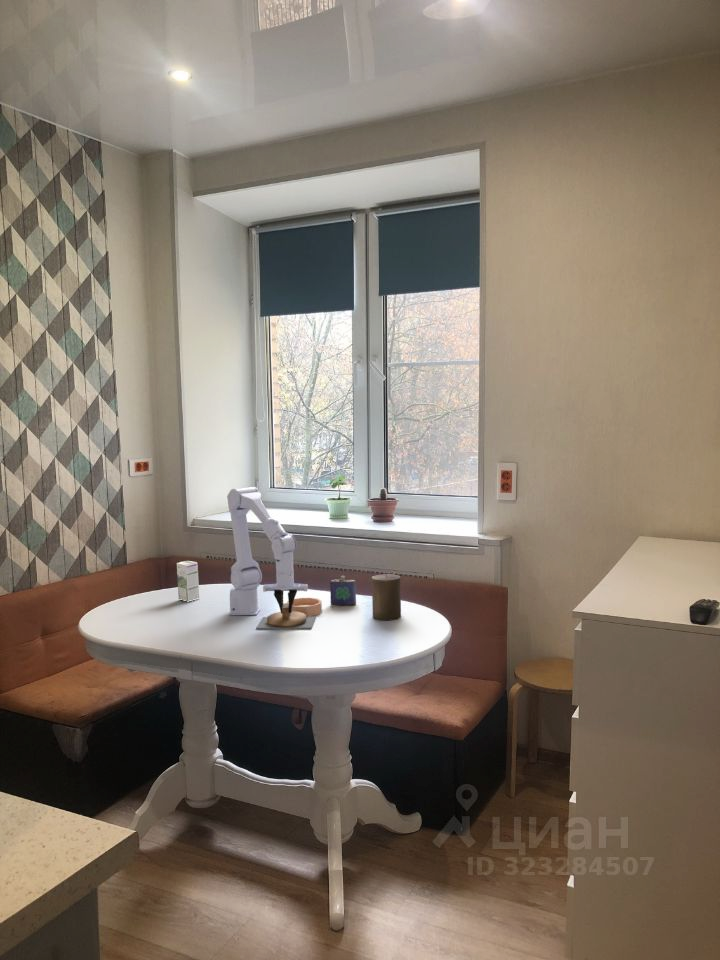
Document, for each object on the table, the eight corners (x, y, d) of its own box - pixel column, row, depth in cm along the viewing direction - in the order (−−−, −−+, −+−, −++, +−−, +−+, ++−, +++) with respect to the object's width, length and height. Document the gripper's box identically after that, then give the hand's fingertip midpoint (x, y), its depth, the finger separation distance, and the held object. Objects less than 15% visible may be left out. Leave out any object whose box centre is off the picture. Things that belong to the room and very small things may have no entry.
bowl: (284, 616, 249) (284, 606, 249) (289, 607, 261) (289, 597, 261) (319, 616, 249) (319, 606, 248) (323, 607, 260) (322, 597, 260)
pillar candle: (400, 620, 242) (399, 576, 240) (370, 620, 243) (370, 576, 242) (401, 613, 251) (401, 570, 250) (373, 612, 253) (373, 569, 251)
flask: (356, 603, 264) (355, 574, 263) (355, 605, 261) (355, 576, 260) (330, 604, 265) (330, 575, 264) (330, 606, 262) (329, 577, 261)
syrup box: (200, 599, 275) (198, 561, 274) (187, 602, 270) (185, 564, 269) (190, 597, 279) (188, 559, 277) (177, 600, 274) (176, 562, 272)
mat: (256, 629, 236) (256, 627, 236) (263, 618, 248) (263, 617, 248) (311, 629, 235) (311, 627, 235) (315, 618, 247) (315, 616, 247)
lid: (263, 626, 235) (263, 611, 235) (270, 614, 248) (270, 599, 248) (303, 626, 235) (303, 611, 234) (308, 613, 248) (308, 599, 247)
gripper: (260, 574, 236) (262, 615, 237) (305, 574, 235) (306, 615, 236) (264, 570, 243) (266, 609, 244) (308, 569, 242) (309, 609, 243)
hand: (286, 612), depth 241 cm, fingers closed on lid
